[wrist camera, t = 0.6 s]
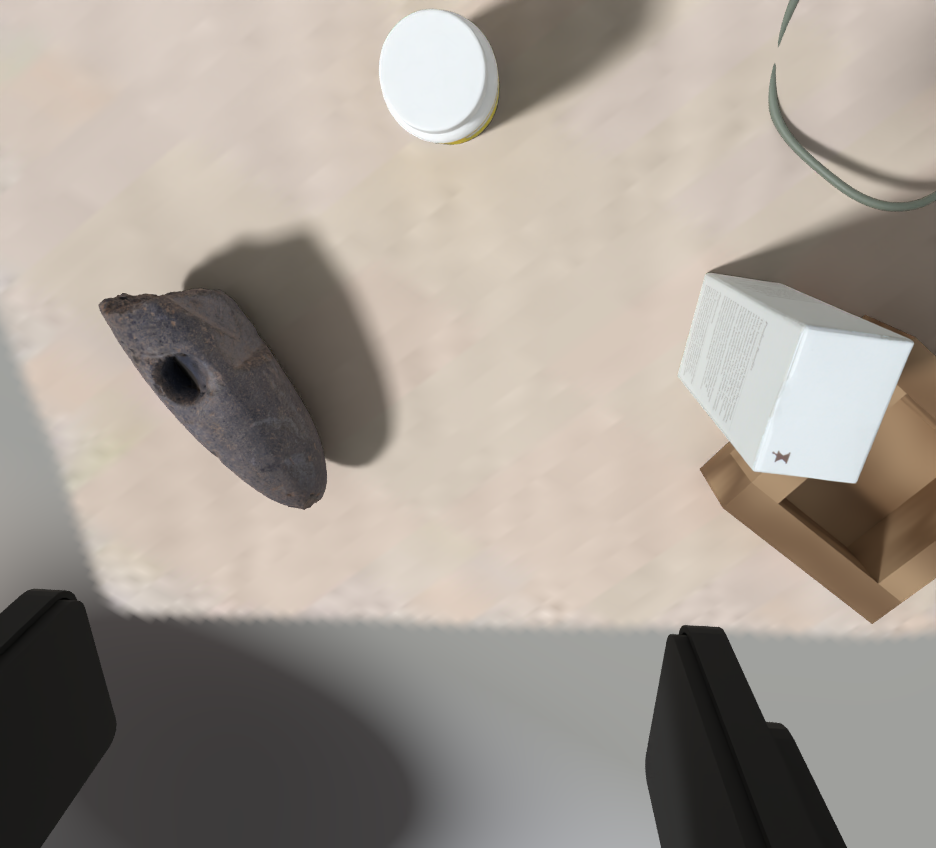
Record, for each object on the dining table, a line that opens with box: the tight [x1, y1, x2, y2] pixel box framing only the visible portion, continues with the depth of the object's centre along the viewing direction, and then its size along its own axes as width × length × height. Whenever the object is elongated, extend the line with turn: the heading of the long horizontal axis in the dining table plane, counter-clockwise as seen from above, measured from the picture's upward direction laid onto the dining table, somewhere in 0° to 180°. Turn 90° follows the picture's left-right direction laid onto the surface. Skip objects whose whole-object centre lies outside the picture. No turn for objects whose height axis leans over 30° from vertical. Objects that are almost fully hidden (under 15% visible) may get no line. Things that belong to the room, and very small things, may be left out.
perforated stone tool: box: [99, 288, 327, 510], centre depth 34 cm, size 15×5×7 cm, turn 28°
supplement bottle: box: [379, 9, 500, 145], centre depth 27 cm, size 5×5×8 cm
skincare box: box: [678, 273, 914, 483], centre depth 29 cm, size 6×4×12 cm
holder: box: [700, 315, 936, 624], centre depth 34 cm, size 12×12×4 cm
